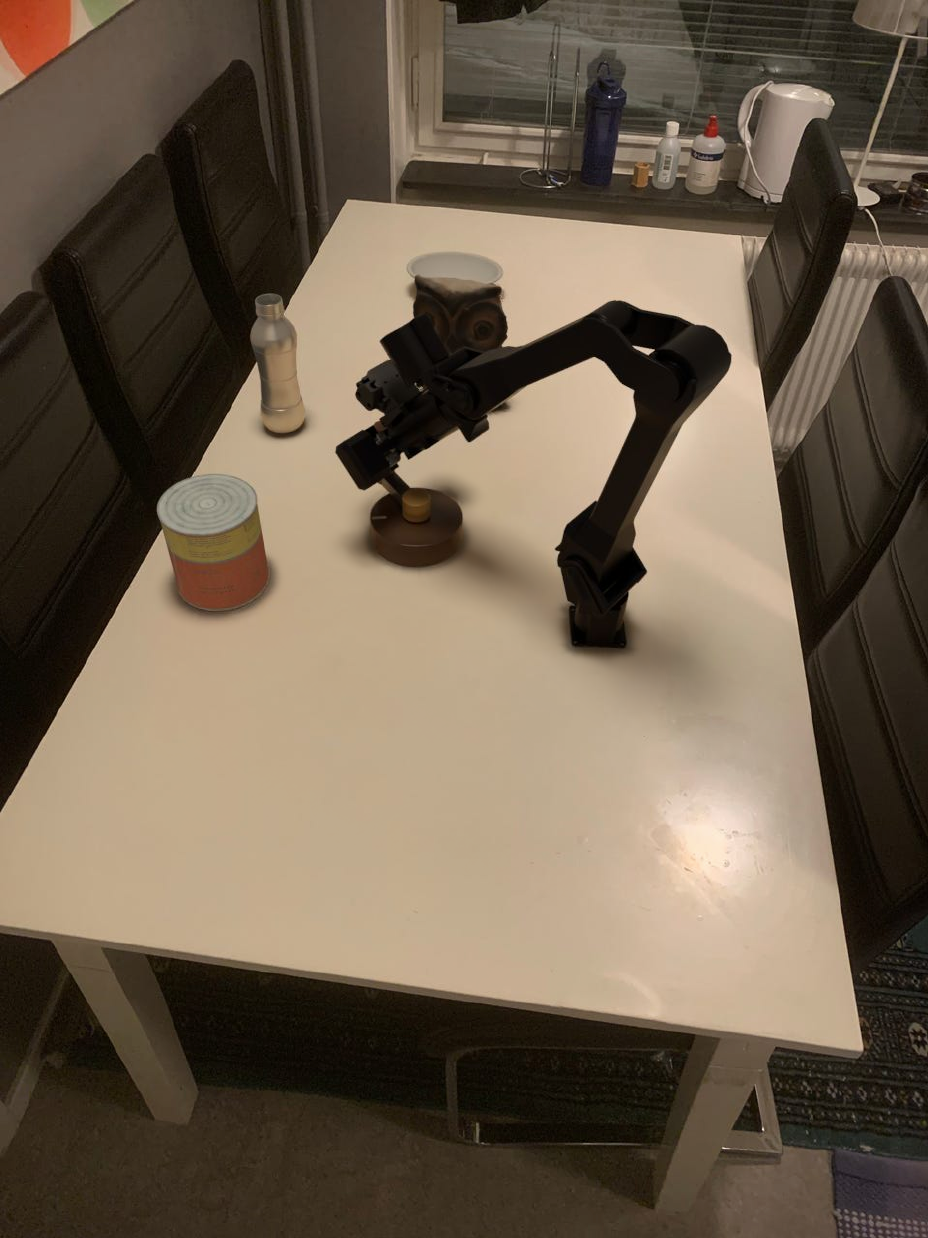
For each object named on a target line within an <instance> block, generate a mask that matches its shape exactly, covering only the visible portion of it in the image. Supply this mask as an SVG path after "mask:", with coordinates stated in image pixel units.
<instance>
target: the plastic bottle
mask: <svg viewBox="0 0 928 1238" xmlns="http://www.w3.org/2000/svg"><path fill="white" fill-rule="evenodd" d="M254 304H255V315H256V316H257V319H256V320H255V321H254V323H253V325H252V327H251V331H250V335H249V338H250V344H251V348H252V350H253V353H254V357H255V362H256V364H257V370H258V373H259V381H260V417H261V420H262V423H263V425H264V426H265V427H266V428H267V430H269V431H271V432H273V433H276V434H288V433H291V432H295V431H296V430H298V429H299V428H300V427H301V426H302V425H303V423H304V421H305V417H306V415H305V414H306V407H305V403H304V399H303V397H302V395H301V389H300V385H299V379H298V370H297V369H298V368H297V367H298V366H297V351H298V350H297V349H298V333H297V330H296V328H295V325H294V323H292V321H290V319H288V318H287V316H285V315H284V314H285V313H286V311H285V307H284V302H283V297H282V296H281V295H279V294H276V293H265V294H264V293H263V294H261V295H259V296H257V297H256V298H255V302H254Z"/></svg>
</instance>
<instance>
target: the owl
mask: <svg viewBox="0 0 928 1238" xmlns="http://www.w3.org/2000/svg"><path fill="white" fill-rule="evenodd" d="M414 284H415V288H416V295H415V299H414V301H413V304H412V315H413V318H415V317H417V316H419V315H421V314H423V313H426V314H427V315H428V317H429V319H430V320H431V322H432V325H433V327H434V329H435V331H436V333H437V335H438V336H439V338H440V340H441V341H442V343H443V345H444V346H445V348H446V350H447V352H448V353H449V356H450V355H451V354H453V353H455V352H456V351H458V350H460V349H461V348H463V347H469V348H473V349H477V350H480V351H484V352H486V351H488V350H492V349H497V348H501V347H503V345H504V344H505V342H506V340H507V339H508V337H509V336H508V330H509V326H508V321H507V315H506V313H505V312H504V310H503V305H502V301H501V298H500V297H501V294H502V292H503V289H502V287H501V285H495V284H492V285H490V284H484V283H480V282H476V281H473V280H461V279H458V278H443V277H438V278H432V277H421V276H420V275H416V276H415V278H414ZM421 388H422V389H423V390H425V389H426V388H427V387H426V386H425V385H423V386H421ZM502 407H503V403H502V404H501V405H499V406H498V407H496V408H495V409H494V410H500V409H502Z"/></svg>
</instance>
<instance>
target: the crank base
mask: <svg viewBox="0 0 928 1238" xmlns="http://www.w3.org/2000/svg"><path fill="white" fill-rule="evenodd" d="M410 488H411V489H422V490H425V491H426V492H428V493H429V495H430V497H431V505H430V517H429V518H428V519H427V520H425V521H423V522H410V521H408V520H406V519H405V518H404V517H403V513H402V506H401V505H400V504H399V503H398V502H397V501H396V500H395V499H394V498H393V497H392V496H391V494H390V493H389V492H388V493H387V494H385V495H383V496H381V498H379V499H378V500H377V501H376V502H375V503H374V505H373V506H372V508H371V510H370V514H369V527H370V528H369V529H370V539H371V544H372V546H373V548H374V550H375V551H376V552H377V554H379V555H380V556H381V557H382V558H384V559H385V560H387V561H389V562H391V563H393V564H397V565H400V566H405V567H414V568H415V567H416V568H417V567H418V568H419V567H429V566H433V565H437V564H440V563H442V562H444V561H447V560H448V559H449V558H451V557H452V556H454V555H455V554H456V553H457V551H458V550H459V548H460V547H461V545H462V541H463V528H464V527H463V526H464V525H463V524H464V515H463V510H462V508H461V506H460V504H459V503H458V502H457V501H456V500H455V499H454V498H452V497H451V496H450V495H448V494H446V493H444V492H442V491H439V490H437V489H432V488H428V487H410Z"/></svg>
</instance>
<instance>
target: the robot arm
mask: <svg viewBox="0 0 928 1238" xmlns="http://www.w3.org/2000/svg"><path fill="white" fill-rule="evenodd" d="M378 341H379V343H380V345H381V347H382V348H383V351H384V352H385V353H386V355H387V357H388V359H386V360H384V361H382V362H380V363H379V364H377V365H376V366H374V367H372V368H370V369H369V370H368V371H367V372H366V375H364V376H363V377H361V380H359V381H356V383H355V386H356V389H355V390H356V391H355V393H354V396H355V398H356V400H357V401H358V403H360V405H361V406H363V407H364V409H365V410H366V411H369V412H372V411H374V410H378V412H380V413H382V414H383V415H382V416H381V417H380V418H378V421H380V422H381V423H382V425H383V426H384V428H386V427H388V428H386V429H385V430H383V431H381V432H380V433H378V432H377V430H376V428H375V427H374V424H372V425H370V426H369V427H367V428H365V429H361V430H360V431H358V432H357V433H355V434H353V435H351V436H349V438H347V439H345V440H343V441H342V442H340V443H339V444H338V445H336V446H335V452H334V453H335V454H336V456H337V458H338V459H339V461H340V463H341V464H342V466H343V467H344V468H345V470H346V472H347V474H348V475H349V477H350V479H351V480H352V481H353V483H354V484H355V486H356V487H357V489H358V490H361V491H367V490H368V489H370V488H371V487H373V486H375V485H376V484H378V482H379V481H381V480H382V479H384V478H385V477H387V476H388V475H390V474H391V472H392V471H393V470H395V471H396V470H397V469H399V467H400V465H399V464H398V463H399V462H400V461H401V459H402V456H401V455H402V454H404V456H405V457H406V459H407V460H408V461H409V460H411V459H412V458H414V457H416V456H418V455H419V454H420V453H422V452H423V451H426V450H428V449H430V448H431V447H433V446H434V445H436V444H437V443H439V442H440V441H442V440H444V439H445V438H447V437H449V436H451V435H452V434H454V433H456V432H457V431H460V433H461V435H462V436H463V438H464V439H465V441H466V442H467V443H472V442H473V441H475V440H476V439H478V438H479V437H480V436H482V435H483V434H485V433H486V432H488V431H489V430H490V422H489V420H488V418H489V417H488V414H489V413H490V412H492V411H493V410H496V409H495V408H496V407H498V406H499V405H501V404H502V405H503V404H504V403H505V402H507V401H508V400H510V399H512V398H513V397H514V396H516V395H517V394H518V393H520V392H521V391H522V390H524V389H525V388H526V387H528V386H530V385H532V384H535V383H537V382H539V381H542V380H544V379H547V378H548V377H551V376H554V375H555V374H558V373H561V372H562V371H565V370H567V369H569V368H572V367H574V366H576V365H579V364H582V363H583V362H586V361H588V360H590V359H593V358H596V359H597V360H599V361H601V362H603V363H604V364H605V366H607V368H608V369H609V370H610V371H611V373H612V374H613V375H614V377H615V378H616V380H617V381H618V382H619V383H620V384H621V385H622V386H624V387H626V388H629V389H630V390H631V391H633V395H632V399H633V404H634V411H635V415H634V419H633V422H632V423H631V427H630V429H629V431H628V433H627V434H626V437H625V439H624V442H623V444H622V446H621V448H620V450H619V453H618V455H617V457H616V459H615V462H614V464H613V466H612V468H611V471H610V472H609V475H608V476H607V479H606V481H605V483H604V486H603V488H602V490H601V493H600V494H599V497H598V499H597V500H594V501H593V502H592V503H590V504H589V505H588V506H587V507H585V509H583V510H582V511H581V512H579V514H578V515H576V516H575V517H574V518H573V519H572V520H570V521H569V522H567V523H566V525H565V527H564V529H563V533H562V536H561V537H562V538H561V540H560V543H559V544H558V545H556V547H554V551H556V552H559V553H558V555H557V558H556V565H557V567H558V568H559V569H560V574H561V578H562V583H563V588H564V592H565V597H566V600H567V602H569V603H570V604H572V605H569V607H568V619H569V620H568V621H569V634H570V644H571V646H573V647H579V648H606V649H625V648H626V647H627V645H628V641H627V634H626V627H625V619H624V618H625V614H626V610H627V605H628V602H629V601H628V600H629V596H630V591H631V590H632V589H633V588H634V587H635V586H636V585H637V584H639V583H640V582H641V581H642V580H643V578H644V577H645V576H646V575H647V574H648V570H647V568H646V566H645V564H644V563H643V562H642V560H641V558H640V556H639V555H638V553H637V551H636V550H635V547H634V544H635V540H636V536H637V532H636V527H635V520H636V517H637V515H638V513H639V511H640V510H641V507H642V505H643V503H644V501H645V499H646V497H647V495H648V494H649V491H650V489H651V488H652V486H653V484H654V482H655V480H656V478H657V476H658V474H659V472H660V470H661V469H662V467H663V464H664V462H665V460H666V458H667V456H668V455H669V452H670V450H672V449H671V448H672V446H673V444H674V443H675V441H676V439H677V437H678V435H679V433H680V431H681V429H682V427H683V425H684V424H685V423H686V422H687V420H688V419H689V418H690V417H691V416H692V415H693V414H694V413H695V412H696V410H697V409H699V407H700V406H701V405H702V404H703V403H704V401H706V400H707V399H708V397H709V396H710V395H711V393H712V392H713V391H715V389H716V388H717V387H718V385H719V384H720V382H721V381H722V380H723V379H724V378H725V377H726V375H727V374H728V372H729V370H730V368H731V365H732V353H731V352H730V350H729V347H728V344H727V342H726V341H725V339H724V337H723V336H722V335H721V334H720V333H719V332H718V331H716V330H715V328H713V327H710V326H707V325H705V324H695V323H693V322H691V321H689V320H686V319H685V318H682V317H680V316H678V315H673V314H668V313H663V312H657V311H652V310H646V309H642V308H639V307H638V306H636V305H633V304H631V303H630V302H627V301H625V300H620V299H619V300H616V299H613V300H610V301H607V302H605V303H604V304H602V305H600V306H599V307H598V308H595V309H594V310H593V311H591V312H589V313H588V314H586V315H584V316H582V317H580V318H578V319H575V320H574V321H571V322H570V323H567V324H565V325H563V326H561V327H559V328H556V329H554V330H553V331H551V332H549V333H547V334H544V335H542V336H540V337H538V338H536V339H534V340H532V341H529V342H528V343H525V344H523V345H519V346H511V345H507V346H502V347H501V348H497V349H492V350H488V351H486V352H484V351H480V350H477V349H473V348H469V347H463V348H461V349H460V350H458V351H456V352H455V353H453V354H451V355H450V356H449V353H448V352H447V350H446V348H445V346H444V345H443V343H442V341H441V340H440V338H439V336H438V335H437V333H436V331H435V329H434V327H433V325H432V322H431V320H430V319H429V317H428V315H427V314H426V313H423V314H421V315H419V316H417V317H415V318H414V317H413V318H412V319H410V321H408V322H406V323H405V324H403V325H402V326H400V327H398V328H396V329H394V330H392V331H391V332H388V333H387V334H386V335H384V336H383V337H382V338H381V339H380V340H378ZM635 347H638V348H643V349H649V350H653V351H652V352H650V353H649V354H647V353H645V352H643V351H641V350H639V349H637V348H635ZM423 385H425V386H426V387H427V388H426V389H425V390H424V389H423V390H421V389H419V388H422V386H423ZM388 437H390V439H388ZM393 446H394V447H393ZM392 451H393V452H392Z"/></svg>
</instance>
